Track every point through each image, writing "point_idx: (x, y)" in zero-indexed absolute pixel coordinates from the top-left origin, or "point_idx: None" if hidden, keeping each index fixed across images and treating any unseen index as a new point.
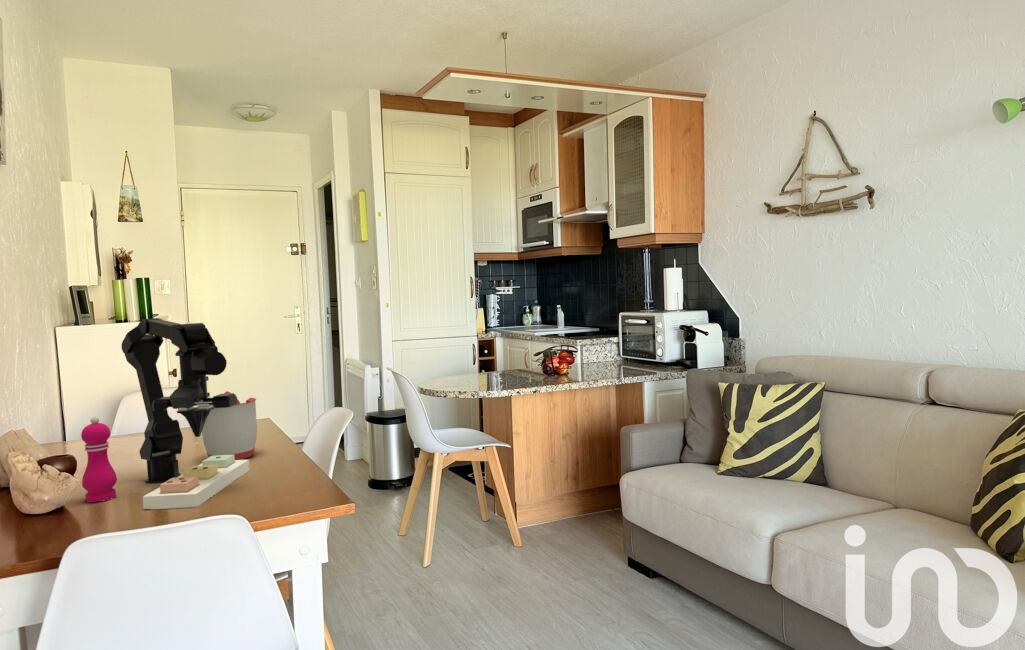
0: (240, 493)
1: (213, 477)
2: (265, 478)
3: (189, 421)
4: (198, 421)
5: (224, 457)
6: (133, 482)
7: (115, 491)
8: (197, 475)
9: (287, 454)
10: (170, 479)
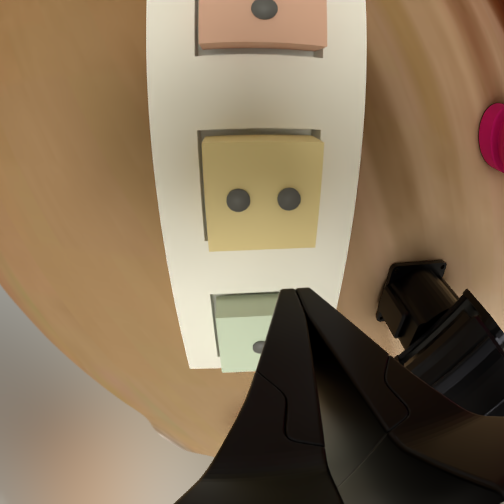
0: (75, 98)
1: (188, 158)
2: (89, 263)
3: (402, 383)
4: (279, 397)
5: (238, 347)
6: (463, 271)
7: (488, 148)
8: (249, 137)
9: (176, 423)
10: (321, 17)
